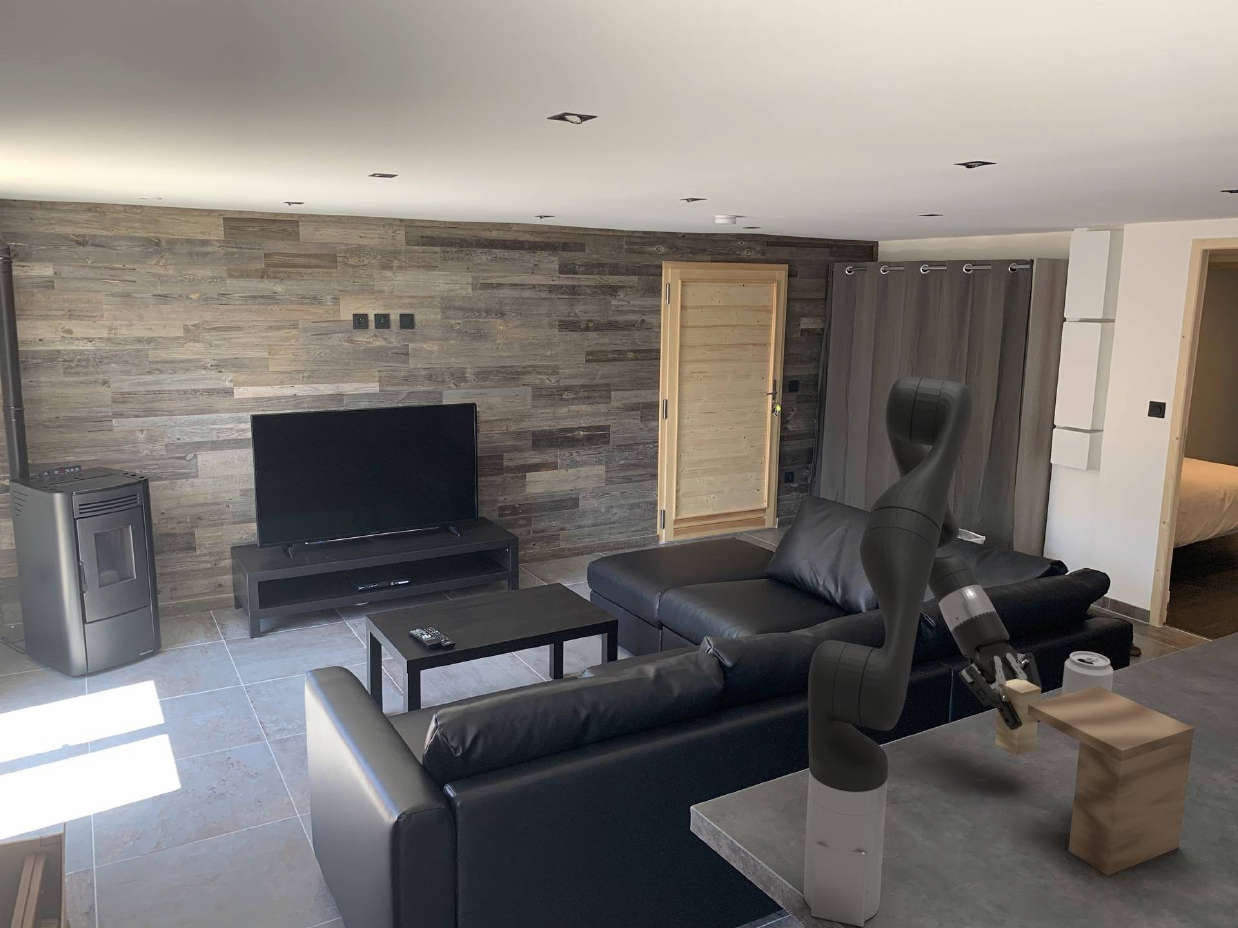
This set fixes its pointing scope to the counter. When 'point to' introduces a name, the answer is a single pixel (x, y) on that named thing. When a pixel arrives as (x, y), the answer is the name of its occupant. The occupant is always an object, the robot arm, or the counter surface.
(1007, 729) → the oak block
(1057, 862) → the counter surface
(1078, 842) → the walnut shelf
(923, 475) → the robot arm
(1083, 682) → the can
